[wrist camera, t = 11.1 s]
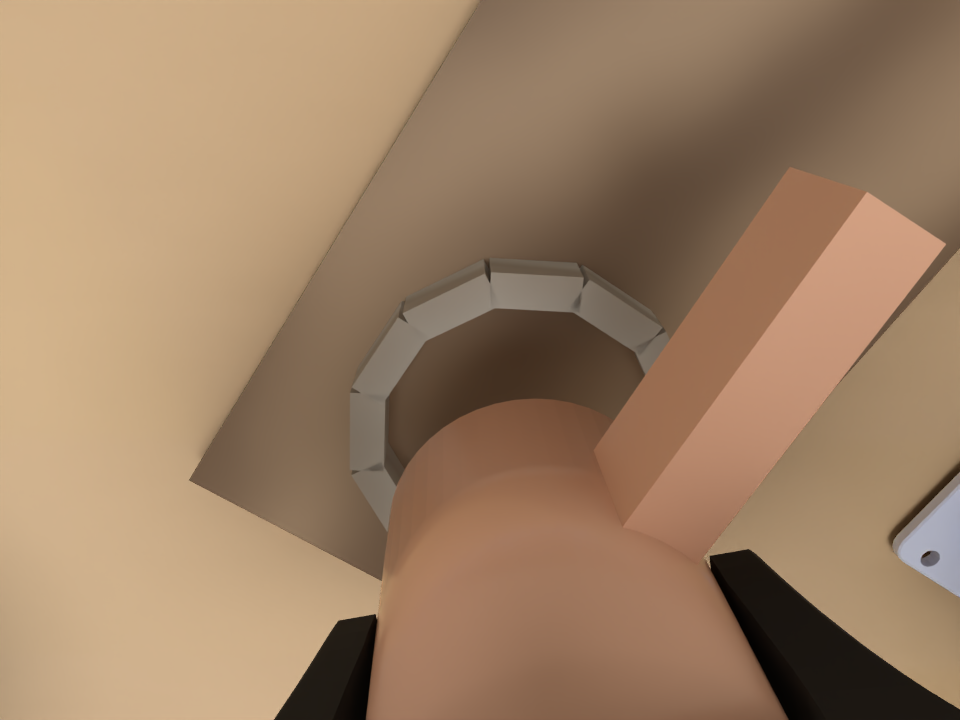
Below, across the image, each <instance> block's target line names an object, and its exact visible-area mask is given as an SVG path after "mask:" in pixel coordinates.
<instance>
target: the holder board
mask: <svg viewBox="0 0 960 720" xmlns="http://www.w3.org/2000/svg"><path fill="white" fill-rule="evenodd" d="M789 167H792V168H795V169H798V170H801V171H804V172H807V173H810V174H813V175H817V176H820V177H823V178H826V179H829V180H832V181H835V182H838V183H841V184H844V185H848V186H851V187H854V188H857V189H860V190H863V191H866V192H868V193H870V194H871V195H873V196H874V197H876V198H877V199H879V200H880V201H882V202H883V203H885V204H886V205H888V206H889V207H891V208H892V209H894V210H895V211H897V212H899V213H900V214H902V215H903V216H905V217H906V218H908V219H909V220H911V221H912V222H914V223H915V224H917V225H918V226H920V227H921V228H923V229H924V230H926V231H927V232H929V233H930V234H932V235H933V236H935V237H936V238H938V239H939V240H941V241H942V242H944V243H945V244H946V245H945V247H944V248H943V249H942V250H941V252H940V253H939V254H938V256H937V257H936V258H935V259H934V261H933V262H932V263H931V265H930V266H929V267H928V268H927V270H926V271H925V272H924V274H923V275H922V276H921V277H920V279H919V280H918V281H917V283H916V284H915V285H914V286H913V288H912V289H911V290H910V292H909V293H908V294H907V295H906V297H905V298H904V299H903V301H902V302H901V303H900V304H899V306H898V307H897V308H896V310H895V311H894V312H893V314H892V315H891V316H890V317H889V319H888V320H887V321H886V323H885V324H884V325H883V326H882V328H881V329H880V330H879V332H878V333H877V334H876V335H875V337H874V338H873V339H872V341H871V342H870V343H869V344H868V346H867V347H866V348H865V350H864V351H863V352H862V353H861V355H860V356H859V357H858V359H857V360H856V361H855V362H854V364H853V365H852V366H851V368H850V369H849V370H848V371H847V373H846V374H845V375H844V377H845V376H846V375H847V374H848V372H849V371H850V370H851V369H852V368H853V367H854V366H855V365H856V363H857V362H858V361H859V360H860V359H861V358H862V357H863V356H864V355H865V353H866V352H867V351H868V350H869V349H870V348H871V347H872V346H873V344H874V343H875V342H876V341H877V340H878V339H879V338H880V337H881V335H882V334H883V333H884V332H885V331H886V330H887V329H888V328H889V327H890V325H891V324H892V323H893V322H894V321H895V320H896V319H897V318H898V316H899V315H900V314H901V313H902V312H903V311H904V310H905V309H906V308H907V306H908V305H909V304H910V303H911V302H912V301H913V300H914V299H915V297H916V296H917V295H918V294H919V293H920V292H921V291H922V290H923V289H924V287H925V286H926V285H927V284H928V283H929V282H930V281H931V280H932V278H933V277H934V276H935V275H936V274H937V273H938V272H939V271H940V270H941V268H942V267H943V266H944V265H945V264H946V263H947V262H948V261H949V259H950V258H951V257H952V256H953V255H954V254H955V253H956V252H957V250H958V249H959V248H960V0H481V2H480V3H479V5H478V7H477V8H476V10H475V12H474V13H473V15H472V17H471V18H470V20H469V22H468V23H467V25H466V26H465V28H464V30H463V31H462V33H461V35H460V36H459V38H458V40H457V41H456V43H455V44H454V46H453V48H452V49H451V51H450V53H449V54H448V56H447V58H446V59H445V61H444V63H443V64H442V66H441V67H440V69H439V71H438V72H437V74H436V76H435V77H434V79H433V81H432V82H431V84H430V86H429V87H428V89H427V90H426V92H425V94H424V95H423V97H422V99H421V100H420V102H419V104H418V105H417V107H416V108H415V110H414V112H413V113H412V115H411V117H410V118H409V120H408V122H407V123H406V125H405V127H404V128H403V130H402V131H401V133H400V135H399V136H398V138H397V140H396V141H395V143H394V145H393V146H392V148H391V150H390V151H389V153H388V154H387V156H386V158H385V159H384V161H383V163H382V164H381V166H380V168H379V169H378V171H377V172H376V174H375V176H374V177H373V179H372V181H371V182H370V184H369V186H368V187H367V189H366V191H365V192H364V194H363V195H362V197H361V199H360V200H359V202H358V204H357V205H356V207H355V209H354V210H353V212H352V214H351V215H350V217H349V218H348V220H347V222H346V223H345V225H344V227H343V228H342V230H341V232H340V233H339V235H338V236H337V238H336V240H335V241H334V243H333V245H332V246H331V248H330V250H329V251H328V253H327V255H326V256H325V258H324V259H323V261H322V263H321V264H320V266H319V268H318V269H317V271H316V273H315V274H314V276H313V277H312V279H311V281H310V282H309V284H308V286H307V287H306V289H305V291H304V292H303V294H302V296H301V297H300V299H299V300H298V302H297V304H296V305H295V307H294V309H293V310H292V312H291V314H290V315H289V317H288V319H287V320H286V322H285V323H284V325H283V327H282V328H281V330H280V332H279V333H278V335H277V337H276V338H275V340H274V341H273V343H272V345H271V346H270V348H269V350H268V351H267V353H266V355H265V356H264V358H263V360H262V361H261V363H260V364H259V366H258V368H257V369H256V371H255V373H254V374H253V376H252V378H251V379H250V381H249V383H248V384H247V386H246V387H245V389H244V391H243V392H242V394H241V396H240V397H239V399H238V401H237V402H236V404H235V405H234V407H233V409H232V410H231V412H230V414H229V415H228V417H227V419H226V420H225V422H224V424H223V425H222V427H221V428H220V430H219V432H218V433H217V435H216V437H215V438H214V440H213V442H212V443H211V445H210V447H209V448H208V450H207V451H206V453H205V455H204V456H203V458H202V460H201V461H200V463H199V465H198V466H197V468H196V469H195V471H194V473H193V474H192V476H191V478H190V479H189V480H190V481H192V482H193V483H195V484H197V485H199V486H201V487H203V488H205V489H207V490H209V491H211V492H213V493H214V494H216V495H218V496H220V497H222V498H224V499H226V500H228V501H230V502H232V503H234V504H236V505H237V506H239V507H241V508H243V509H245V510H247V511H249V512H251V513H253V514H255V515H257V516H258V517H260V518H262V519H264V520H266V521H268V522H270V523H272V524H274V525H276V526H278V527H280V528H281V529H283V530H285V531H287V532H289V533H291V534H293V535H295V536H297V537H299V538H301V539H302V540H304V541H306V542H308V543H310V544H312V545H314V546H316V547H318V548H320V549H322V550H323V551H325V552H327V553H329V554H331V555H333V556H335V557H337V558H339V559H341V560H343V561H345V562H346V563H348V564H350V565H352V566H354V567H356V568H358V569H360V570H362V571H364V572H366V573H367V574H369V575H371V576H373V577H375V578H377V579H379V580H381V581H382V576H383V568H384V559H385V550H386V542H387V533H388V525H389V516H390V510H391V505H392V500H393V496H394V493H395V490H396V487H397V484H398V482H399V480H400V478H401V476H402V474H403V472H404V470H405V468H406V467H407V465H408V464H409V462H410V461H411V460H412V458H413V457H414V455H415V454H416V453H417V451H418V450H419V449H420V448H421V447H422V446H423V445H424V444H425V443H426V442H427V441H428V440H429V439H430V438H431V437H432V436H434V435H435V434H436V433H437V432H439V431H440V430H441V429H442V428H444V427H445V426H447V425H448V424H450V423H452V422H453V421H455V420H456V419H458V418H460V417H462V416H464V415H466V414H468V413H471V412H473V411H475V410H477V409H480V408H483V407H486V406H490V405H493V404H496V403H501V402H506V401H512V400H521V399H552V400H559V401H564V402H570V403H574V404H577V405H581V406H584V407H587V408H590V409H592V410H595V411H597V412H599V413H601V414H603V415H606V416H607V417H609V418H611V419H612V420H615V418H616V417H617V416H618V414H619V413H620V411H621V410H622V408H623V407H624V405H625V404H626V403H627V401H628V400H629V398H630V397H631V395H632V394H633V392H634V391H635V390H636V388H637V387H638V385H639V384H640V382H641V381H642V379H643V378H644V377H645V375H646V374H647V372H648V371H649V369H650V368H651V366H652V365H653V364H654V362H655V361H656V359H657V358H658V356H659V355H660V353H661V352H662V351H663V349H664V348H665V346H666V345H667V343H668V342H669V340H670V339H671V338H672V336H673V335H674V333H675V332H676V330H677V329H678V327H679V326H680V325H681V323H682V322H683V320H684V319H685V317H686V316H687V314H688V313H689V312H690V310H691V309H692V307H693V306H694V304H695V303H696V301H697V300H698V299H699V297H700V296H701V294H702V293H703V291H704V290H705V288H706V287H707V286H708V284H709V283H710V281H711V280H712V278H713V277H714V275H715V274H716V273H717V271H718V270H719V268H720V267H721V265H722V264H723V262H724V261H725V259H726V258H727V257H728V255H729V254H730V252H731V251H732V249H733V248H734V246H735V245H736V244H737V242H738V241H739V239H740V238H741V236H742V235H743V233H744V232H745V231H746V229H747V228H748V226H749V225H750V223H751V222H752V220H753V219H754V218H755V216H756V215H757V213H758V212H759V210H760V209H761V207H762V206H763V205H764V203H765V202H766V200H767V199H768V197H769V196H770V194H771V193H772V192H773V190H774V189H775V187H776V186H777V184H778V183H779V181H780V180H781V179H782V177H783V176H784V174H785V173H786V171H787V170H788V168H789ZM844 377H843V378H844ZM843 378H842V379H843ZM842 379H841V380H842ZM841 380H840V381H841ZM838 384H839V383H838ZM838 384H837V385H838Z"/></svg>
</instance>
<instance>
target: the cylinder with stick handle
mask: <svg viewBox="0 0 960 720" xmlns="http://www.w3.org/2000/svg"><path fill="white" fill-rule="evenodd" d="M945 245H946V244H945V243H944V242H942V241H941V240H939V239H938V238H936V237H935V236H933V235H932V234H930V233H929V232H927V231H926V230H924V229H923V228H921V227H920V226H918V225H917V224H915V223H914V222H912V221H911V220H909V219H908V218H906V217H905V216H903V215H902V214H900V213H899V212H897V211H895V210H894V209H892V208H891V207H889V206H888V205H886V204H885V203H883V202H882V201H880V200H879V199H877V198H876V197H874V196H873V195H871V194H870V193H868V192H866V191H863V190H860V189H857V188H854V187H851V186H848V185H844V184H841V183H838V182H835V181H832V180H829V179H826V178H823V177H820V176H817V175H813V174H810V173H807V172H804V171H801V170H798V169H795V168H792V167H789V168H788V170H787V171H786V173H785V174H784V176H783V177H782V179H781V180H780V181H779V183H778V184H777V186H776V187H775V189H774V190H773V192H772V193H771V194H770V196H769V197H768V199H767V200H766V202H765V203H764V205H763V206H762V207H761V209H760V210H759V212H758V213H757V215H756V216H755V218H754V219H753V220H752V222H751V223H750V225H749V226H748V228H747V229H746V231H745V232H744V233H743V235H742V236H741V238H740V239H739V241H738V242H737V244H736V245H735V246H734V248H733V249H732V251H731V252H730V254H729V255H728V257H727V258H726V259H725V261H724V262H723V264H722V265H721V267H720V268H719V270H718V271H717V273H716V274H715V275H714V277H713V278H712V280H711V281H710V283H709V284H708V286H707V287H706V288H705V290H704V291H703V293H702V294H701V296H700V297H699V299H698V300H697V301H696V303H695V304H694V306H693V307H692V309H691V310H690V312H689V313H688V314H687V316H686V317H685V319H684V320H683V322H682V323H681V325H680V326H679V327H678V329H677V330H676V332H675V333H674V335H673V336H672V338H671V339H670V340H669V342H668V343H667V345H666V346H665V348H664V349H663V351H662V352H661V353H660V355H659V356H658V358H657V359H656V361H655V362H654V364H653V365H652V366H651V368H650V369H649V371H648V372H647V374H646V375H645V377H644V378H643V379H642V381H641V382H640V384H639V385H638V387H637V388H636V390H635V391H634V392H633V394H632V395H631V397H630V398H629V400H628V401H627V403H626V404H625V405H624V407H623V408H622V410H621V411H620V413H619V414H618V416H617V417H616V418H615V420H612V419H611V418H609V417H607V416H606V415H603V414H601V413H599V412H597V411H595V410H592V409H590V408H587V407H584V406H581V405H577V404H574V403H570V402H564V401H559V400H552V399H521V400H512V401H506V402H501V403H496V404H493V405H490V406H486V407H483V408H480V409H477V410H475V411H473V412H471V413H468V414H466V415H464V416H462V417H460V418H458V419H456V420H455V421H453V422H452V423H450V424H448V425H447V426H445V427H444V428H442V429H441V430H440V431H439V432H437V433H436V434H435V435H434V436H432V437H431V438H430V439H429V440H428V441H427V442H426V443H425V444H424V445H423V446H422V447H421V448H420V449H419V450H418V451H417V453H416V454H415V455H414V457H413V458H412V460H411V461H410V462H409V464H408V465H407V467H406V468H405V470H404V472H403V474H402V476H401V478H400V480H399V482H398V484H397V487H396V490H395V493H394V496H393V500H392V505H391V510H390V516H389V525H388V533H387V542H386V550H385V559H384V568H383V576H382V585H381V593H380V602H379V610H378V619H377V628H376V636H375V645H374V653H373V662H372V670H371V679H370V687H369V696H368V705H367V713H366V720H789V719H788V717H787V715H786V713H785V712H784V710H783V708H782V706H781V704H780V702H779V700H778V698H777V696H776V694H775V692H774V690H773V688H772V687H771V685H770V683H769V681H768V679H767V677H766V675H765V673H764V671H763V669H762V667H761V665H760V663H759V662H758V660H757V658H756V656H755V654H754V652H753V650H752V648H751V646H750V644H749V642H748V640H747V638H746V637H745V635H744V633H743V631H742V629H741V627H740V625H739V623H738V621H737V619H736V617H735V615H734V613H733V612H732V610H731V608H730V606H729V604H728V602H727V600H726V598H725V596H724V594H723V592H722V590H721V588H720V586H719V585H718V583H717V581H716V579H715V577H714V575H713V573H712V571H711V569H710V567H709V565H708V563H707V561H706V560H705V558H704V556H705V554H706V553H707V552H708V550H709V549H710V548H711V547H712V545H713V544H714V543H715V541H716V540H717V539H718V538H719V536H720V535H721V534H722V532H723V531H724V530H725V528H726V527H727V526H728V525H729V523H730V522H731V521H732V519H733V518H734V517H735V516H736V514H737V513H738V512H739V510H740V509H741V508H742V507H743V505H744V504H745V503H746V501H747V500H748V499H749V498H750V496H751V495H752V494H753V492H754V491H755V490H756V489H757V487H758V486H759V485H760V483H761V482H762V481H763V480H764V478H765V477H766V476H767V474H768V473H769V472H770V471H771V469H772V468H773V467H774V465H775V464H776V463H777V462H778V460H779V459H780V458H781V456H782V455H783V454H784V453H785V451H786V450H787V449H788V447H789V446H790V445H791V444H792V442H793V441H794V440H795V438H796V437H797V436H798V435H799V433H800V432H801V431H802V429H803V428H804V427H805V426H806V424H807V423H808V422H809V420H810V419H811V418H812V416H813V415H814V414H815V413H816V411H817V410H818V409H819V407H820V406H821V405H822V404H823V402H824V401H825V400H826V398H827V397H828V396H829V395H830V393H831V392H832V391H833V389H834V388H835V387H836V386H837V384H838V383H839V382H840V380H841V379H842V378H843V377H844V375H845V374H846V373H847V371H848V370H849V369H850V368H851V366H852V365H853V364H854V362H855V361H856V360H857V359H858V357H859V356H860V355H861V353H862V352H863V351H864V350H865V348H866V347H867V346H868V344H869V343H870V342H871V341H872V339H873V338H874V337H875V335H876V334H877V333H878V332H879V330H880V329H881V328H882V326H883V325H884V324H885V323H886V321H887V320H888V319H889V317H890V316H891V315H892V314H893V312H894V311H895V310H896V308H897V307H898V306H899V304H900V303H901V302H902V301H903V299H904V298H905V297H906V295H907V294H908V293H909V292H910V290H911V289H912V288H913V286H914V285H915V284H916V283H917V281H918V280H919V279H920V277H921V276H922V275H923V274H924V272H925V271H926V270H927V268H928V267H929V266H930V265H931V263H932V262H933V261H934V259H935V258H936V257H937V256H938V254H939V253H940V252H941V250H942V249H943V248H944V247H945Z"/></svg>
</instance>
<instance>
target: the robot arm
mask: <svg viewBox="0 0 960 720" xmlns="http://www.w3.org/2000/svg"><path fill="white" fill-rule="evenodd" d="M893 550H894V552H895V553H896V555H897V556H898V557H899V558H900V559H901V560H902V561H903V562H904V563H905V564H907V565H909V566H910V567H912V568H913V569H915V570H917V571H918V572H920V573H921V574H923V575H924V576H926V577H928V578H929V579H931V580H932V581H934V582H936V583H937V584H939V585H940V586H942V587H943V588H945V589H947V590H948V591H950V592H951V593H953V594H955V595H956V596H958V597H959V598H960V472H959V473H958V474H957V475H956V476H955V477H954V478H953V479H952V480H951V481H950V482H949V483H948V484H947V485H946V486H945V487H944V488H943V489H942V490H941V491H940V492H939V493H938V494H937V495H936V496H935V497H934V498H933V499H932V500H931V501H930V502H929V503H928V504H927V505H926V507H925V508H924V509H923V510H922V511H921V512H920V513H919V514H918V515H917V516H916V517H915V518H914V519H913V520H912V521H911V522H910V523H909V524H908V525H907V526H906V527H905V528H904V529H903V530H902V531H901V532H900V533H899V534H898V535H897V536H896V538H895V539H894V541H893ZM927 551H931V553H930V555H928V556H926V557H924V558H921V557H922V555H923V554H924V553H926V552H927ZM710 565H711V571H712V573H713V575H714V577H715V579H716V581H717V583H718V585H719V586H720V588H721V590H722V592H723V594H724V596H725V598H726V600H727V602H728V604H729V606H730V608H731V610H732V612H733V613H734V615H735V617H736V619H737V621H738V623H739V625H740V627H741V629H742V631H743V633H744V635H745V637H746V638H747V640H748V642H749V644H750V646H751V648H752V650H753V652H754V654H755V656H756V658H757V660H758V662H759V663H760V665H761V667H762V669H763V671H764V673H765V675H766V677H767V679H768V681H769V683H770V685H771V687H772V688H773V690H774V692H775V694H776V696H777V698H778V700H779V702H780V704H781V706H782V708H783V710H784V712H785V713H786V715H787V717H788V719H789V720H960V709H958V708H956V707H955V706H953V705H952V704H950V703H948V702H947V701H945V700H943V699H942V698H940V697H938V696H937V695H935V694H933V693H932V692H930V691H929V690H927V689H925V688H924V687H922V686H921V685H919V684H918V683H916V682H915V681H913V680H912V679H910V678H909V677H907V676H906V675H904V674H903V673H901V672H900V671H898V670H897V669H896V668H894V667H893V666H891V665H890V664H889V663H887V662H886V661H884V660H883V659H882V658H880V657H879V656H877V655H876V654H875V653H873V652H872V651H870V650H869V649H868V648H866V647H865V646H864V645H862V644H861V643H860V642H859V641H857V640H856V639H855V638H853V637H852V636H851V635H849V634H848V633H847V632H846V631H844V630H843V629H842V628H841V627H839V626H838V625H837V624H836V623H834V622H833V621H832V620H831V619H829V618H828V617H827V616H826V615H824V614H823V613H822V612H821V611H819V610H818V609H817V608H816V607H815V606H813V605H812V604H811V603H810V602H809V601H807V600H806V599H805V598H804V597H803V596H802V595H801V594H799V593H798V592H797V591H796V590H795V589H794V588H792V587H791V586H790V585H789V584H788V583H787V582H786V581H785V580H783V579H782V578H781V577H780V576H779V575H778V574H777V573H776V572H775V571H774V570H772V569H771V568H770V567H769V566H768V565H767V564H766V563H765V562H764V561H763V560H762V559H761V558H760V557H759V556H757V555H756V554H755V553H754V552H752V551H751V550H749V549H747V550H742V551H736V552H730V553H725V554H719V555H713V556H710ZM376 628H377V618H376V615H375V614H374V615H369V616H363V617H357V618H351V619H346V620H340V621H338V622H337V624H336V625H335V626H334V628H333V629H332V631H331V632H330V634H329V636H328V637H327V639H326V640H325V642H324V643H323V645H322V647H321V648H320V650H319V651H318V653H317V655H316V656H315V658H314V659H313V661H312V663H311V664H310V666H309V667H308V669H307V670H306V672H305V674H304V675H303V677H302V678H301V680H300V681H299V683H298V685H297V686H296V688H295V689H294V691H293V692H292V694H291V695H290V697H289V698H288V700H287V701H286V703H285V704H284V706H283V707H282V708H281V710H280V711H279V713H278V714H277V716H276V717H275V719H274V720H366V713H367V705H368V696H369V687H370V679H371V670H372V662H373V653H374V645H375V636H376Z"/></svg>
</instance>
